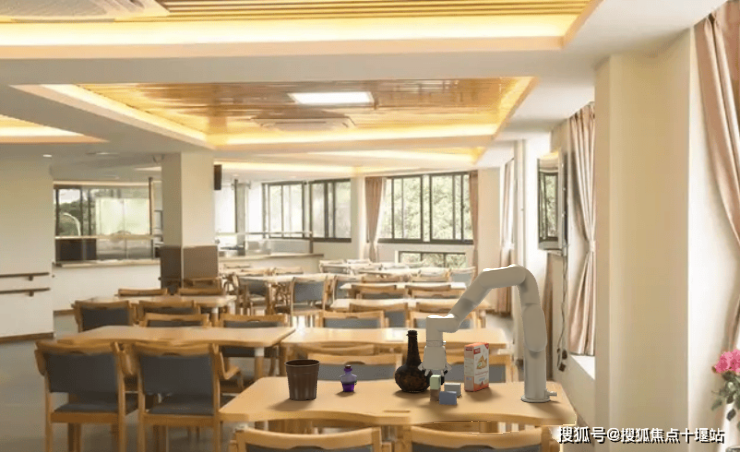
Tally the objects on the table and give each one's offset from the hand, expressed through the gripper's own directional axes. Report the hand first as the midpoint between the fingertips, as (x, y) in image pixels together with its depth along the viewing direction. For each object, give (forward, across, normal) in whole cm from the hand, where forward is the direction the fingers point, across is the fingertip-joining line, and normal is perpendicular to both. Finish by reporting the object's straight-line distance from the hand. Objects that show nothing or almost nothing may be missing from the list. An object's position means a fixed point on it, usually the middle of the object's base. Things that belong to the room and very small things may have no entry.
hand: (435, 384), depth 368 cm
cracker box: (+7, -15, -25) cm, 30 cm away
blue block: (+7, -7, +8) cm, 13 cm away
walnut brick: (+7, 0, 0) cm, 7 cm away
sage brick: (+2, 0, 0) cm, 2 cm away
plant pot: (+7, +59, +8) cm, 60 cm away
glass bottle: (+7, +13, -16) cm, 22 cm away
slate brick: (+7, -6, -10) cm, 13 cm away
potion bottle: (+7, +43, -10) cm, 45 cm away
